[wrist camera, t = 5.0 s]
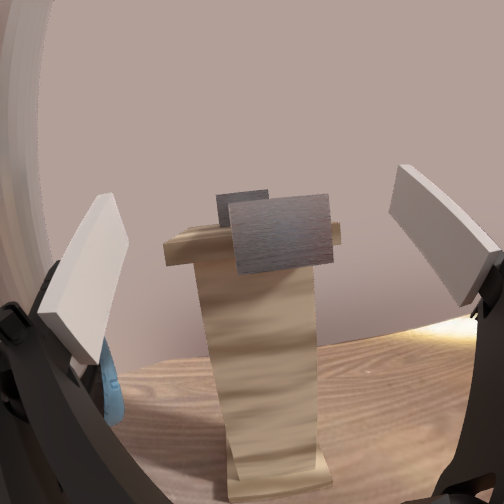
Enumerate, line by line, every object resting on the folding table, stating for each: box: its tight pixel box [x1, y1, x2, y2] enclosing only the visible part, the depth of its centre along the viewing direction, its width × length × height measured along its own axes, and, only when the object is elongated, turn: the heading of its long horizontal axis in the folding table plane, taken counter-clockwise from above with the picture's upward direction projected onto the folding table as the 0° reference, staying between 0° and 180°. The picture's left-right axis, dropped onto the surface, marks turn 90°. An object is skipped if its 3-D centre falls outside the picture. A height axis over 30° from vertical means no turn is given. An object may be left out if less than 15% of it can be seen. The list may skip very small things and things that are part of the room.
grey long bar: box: [216, 190, 334, 276], centre depth 20 cm, size 24×5×3 cm, turn 5°
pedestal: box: [163, 221, 341, 503], centre depth 28 cm, size 14×12×30 cm
